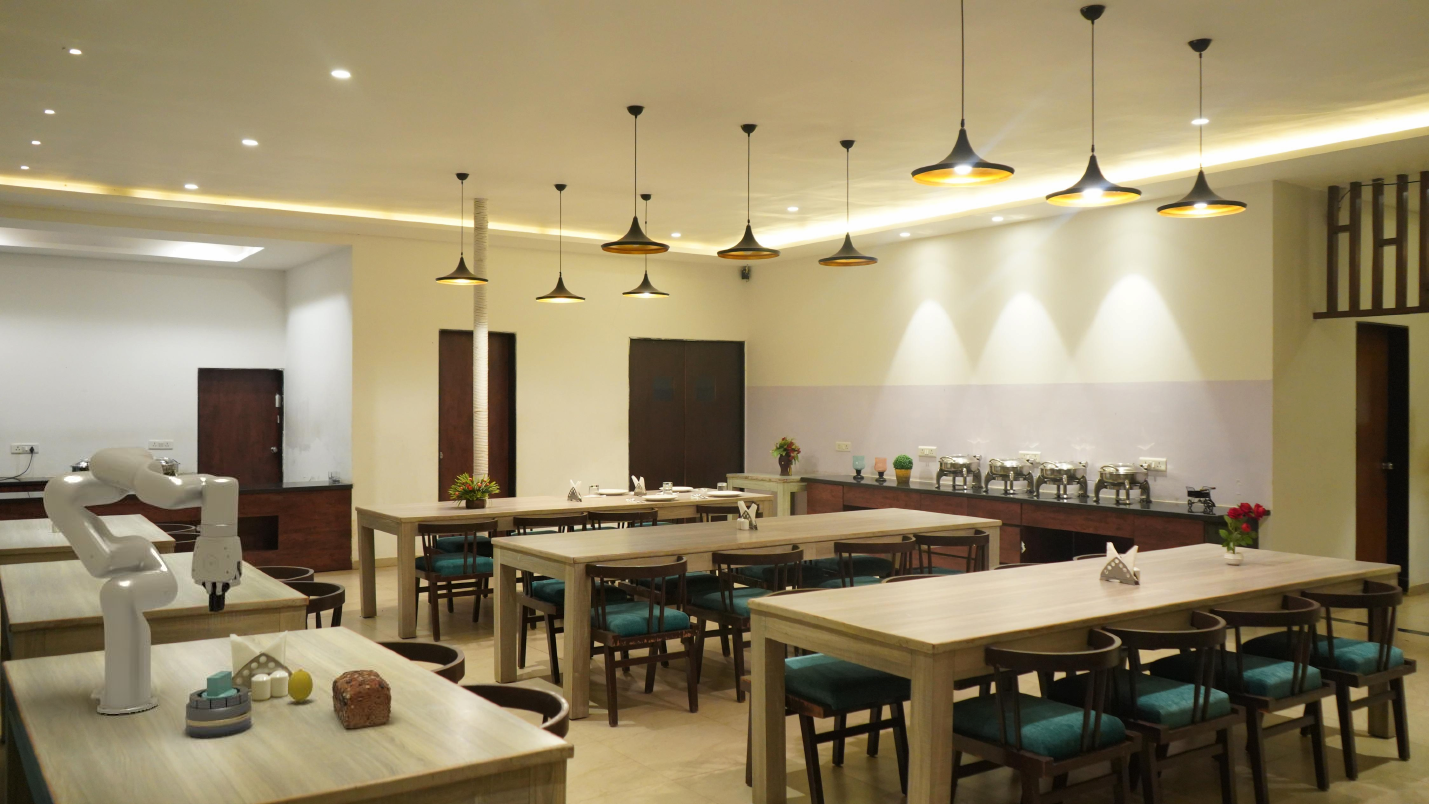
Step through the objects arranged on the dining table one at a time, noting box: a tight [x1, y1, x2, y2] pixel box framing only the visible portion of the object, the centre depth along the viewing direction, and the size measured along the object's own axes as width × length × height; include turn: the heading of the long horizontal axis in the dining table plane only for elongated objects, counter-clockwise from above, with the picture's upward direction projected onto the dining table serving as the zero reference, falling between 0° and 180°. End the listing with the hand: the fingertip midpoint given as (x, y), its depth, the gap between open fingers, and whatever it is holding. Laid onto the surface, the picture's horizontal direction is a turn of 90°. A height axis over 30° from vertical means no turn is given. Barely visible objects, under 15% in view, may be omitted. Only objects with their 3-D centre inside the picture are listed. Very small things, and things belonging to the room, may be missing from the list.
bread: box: [331, 669, 392, 729], centre depth 235 cm, size 19×11×10 cm, turn 28°
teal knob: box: [202, 670, 237, 698], centre depth 227 cm, size 7×7×6 cm
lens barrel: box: [185, 685, 253, 739], centre depth 227 cm, size 13×13×8 cm
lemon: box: [287, 668, 314, 704], centre depth 247 cm, size 6×6×8 cm
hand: (216, 610), depth 235 cm, fingers closed
